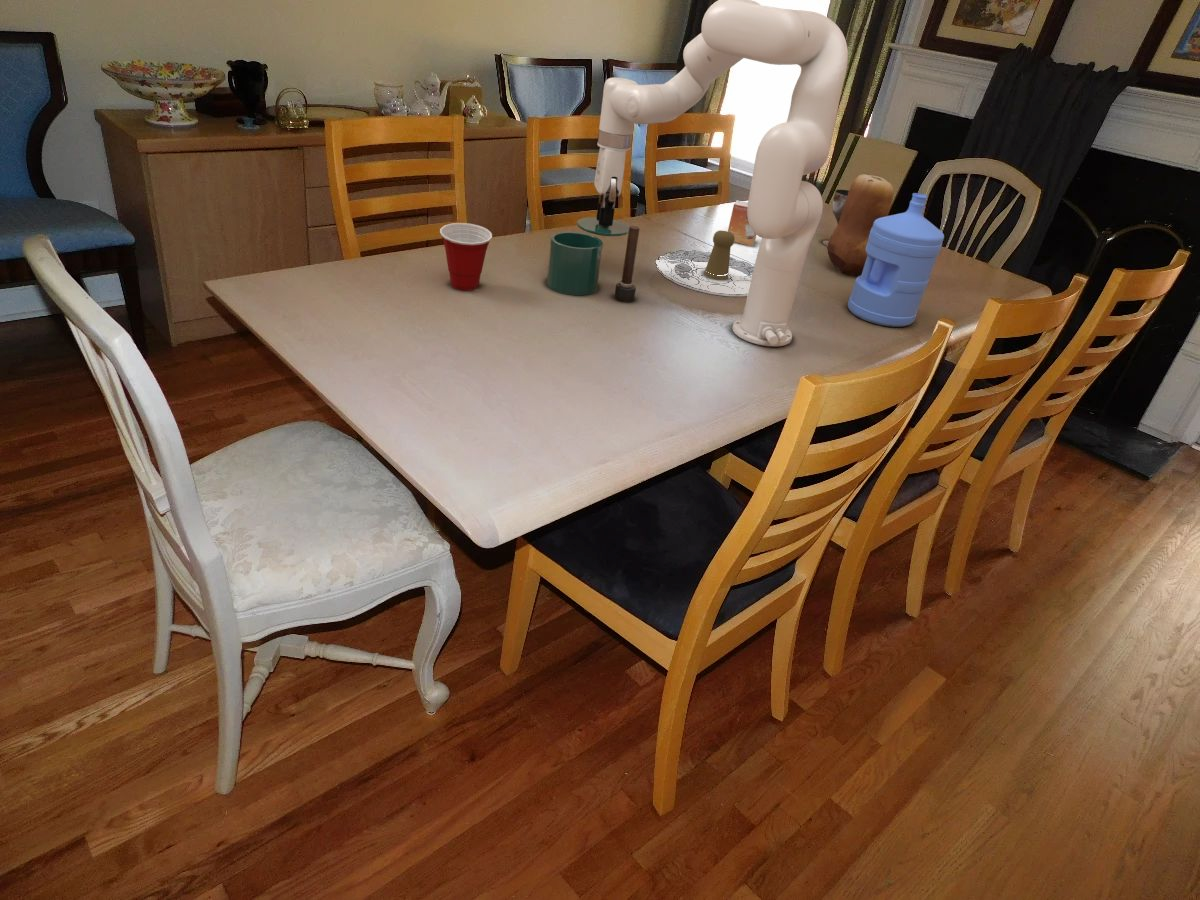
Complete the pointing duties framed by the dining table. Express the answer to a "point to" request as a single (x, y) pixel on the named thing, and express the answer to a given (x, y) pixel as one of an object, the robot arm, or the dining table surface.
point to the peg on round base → (628, 268)
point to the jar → (574, 263)
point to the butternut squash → (859, 222)
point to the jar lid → (603, 227)
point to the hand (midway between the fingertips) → (604, 222)
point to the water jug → (896, 267)
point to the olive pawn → (720, 255)
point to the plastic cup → (465, 253)
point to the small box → (741, 224)
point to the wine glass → (838, 205)
